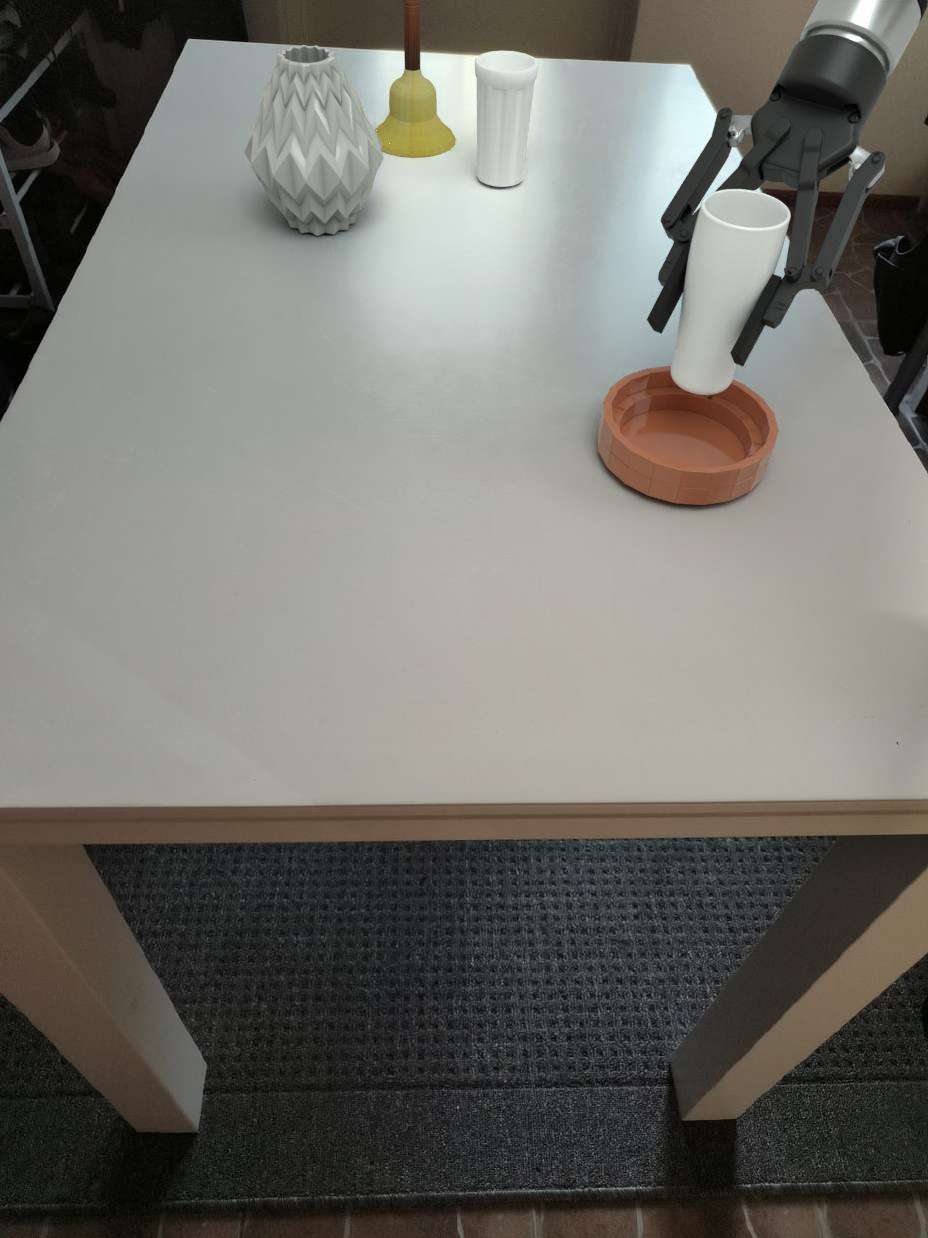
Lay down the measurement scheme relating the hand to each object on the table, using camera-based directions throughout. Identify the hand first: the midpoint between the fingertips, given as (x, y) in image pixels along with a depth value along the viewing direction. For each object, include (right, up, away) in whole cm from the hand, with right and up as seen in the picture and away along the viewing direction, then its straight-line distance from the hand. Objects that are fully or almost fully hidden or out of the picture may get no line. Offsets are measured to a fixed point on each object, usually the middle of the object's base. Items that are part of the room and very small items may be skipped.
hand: (694, 342), depth 71 cm
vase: (-36, +28, +40) cm, 61 cm away
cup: (-14, +37, +50) cm, 64 cm away
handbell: (-26, +47, +57) cm, 79 cm away
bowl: (+2, -7, +12) cm, 14 cm away
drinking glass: (+2, -2, +6) cm, 7 cm away
